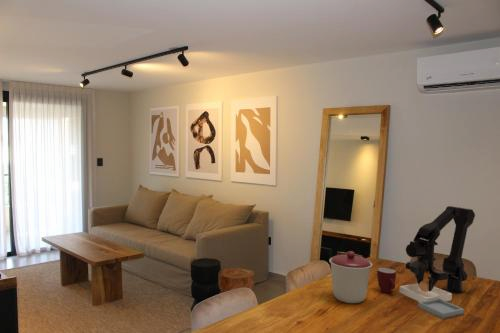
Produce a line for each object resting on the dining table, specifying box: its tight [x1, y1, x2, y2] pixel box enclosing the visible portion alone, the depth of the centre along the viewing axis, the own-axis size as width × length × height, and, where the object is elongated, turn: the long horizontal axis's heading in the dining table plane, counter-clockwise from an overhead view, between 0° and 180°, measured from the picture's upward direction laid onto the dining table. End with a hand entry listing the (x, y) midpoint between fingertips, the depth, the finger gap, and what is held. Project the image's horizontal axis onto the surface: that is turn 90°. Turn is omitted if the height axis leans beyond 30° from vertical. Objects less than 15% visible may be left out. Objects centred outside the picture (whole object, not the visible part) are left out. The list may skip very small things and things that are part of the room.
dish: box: [398, 282, 453, 302], centre depth 175 cm, size 15×15×3 cm
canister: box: [329, 250, 373, 304], centre depth 169 cm, size 18×18×21 cm
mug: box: [376, 267, 397, 294], centre depth 178 cm, size 10×8×10 cm
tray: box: [417, 298, 465, 320], centre depth 159 cm, size 12×12×2 cm
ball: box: [419, 279, 429, 292], centre depth 175 cm, size 5×5×5 cm
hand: (425, 289), depth 175 cm, fingers closed on ball, 5 cm apart
